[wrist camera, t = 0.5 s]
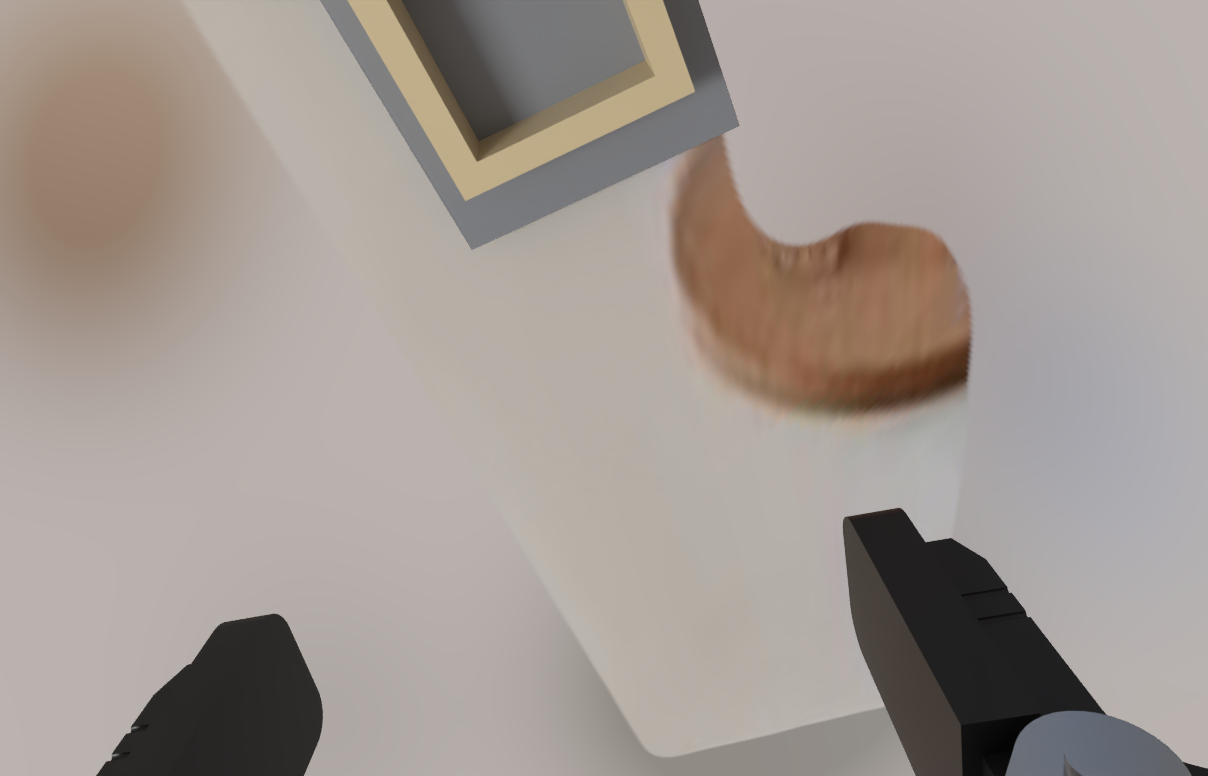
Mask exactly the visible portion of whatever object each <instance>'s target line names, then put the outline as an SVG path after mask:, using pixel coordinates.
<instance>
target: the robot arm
mask: <svg viewBox="0 0 1208 776" xmlns="http://www.w3.org/2000/svg"><path fill="white" fill-rule="evenodd" d="M843 535H844V546H845V556H846V566H847V576H848V586H849V596H850V606H851V613H852V619H853V624H854V628H855V632H856V636H857V639H858V643H859V646H860V649H861V651H862V654H863V656H864V659H865V661H866V663H867V666H868V668H869V670H870V672H871V675H872V677H873V679H874V682H875V684H876V686H877V688H878V691H879V693H880V695H881V698H882V700H883V702H884V704H885V707H886V709H887V711H888V713H889V716H890V718H891V720H892V722H893V725H894V727H895V729H896V732H897V734H898V736H899V738H900V741H901V743H902V745H903V747H904V749H905V752H906V754H907V757H908V759H909V761H910V763H911V766H912V768H913V770H914V773H915V775H916V776H1208V769H1207V768H1203V767H1199V766H1195V765H1191V764H1187V763H1184V762H1182V761H1181V759H1180V758H1179V757H1178V756H1177V755H1176V754H1175V753H1174V752H1173V751H1172V750H1171V749H1170V748H1169V747H1168V746H1167V745H1165V744H1164V743H1163V742H1161V741H1160V740H1159V739H1157V738H1156V737H1155V736H1153V735H1151V734H1150V733H1148V732H1146V731H1145V730H1143V729H1141V728H1139V727H1137V726H1135V725H1133V724H1130V723H1129V722H1126V721H1123V720H1121V719H1117V718H1115V717H1112V716H1108V715H1106V714H1105V712H1104V711H1103V710H1102V709H1101V708H1100V707H1099V705H1098V704H1097V703H1096V701H1095V700H1094V699H1093V697H1092V696H1091V695H1090V693H1089V692H1088V691H1087V690H1086V688H1085V687H1084V686H1083V685H1082V683H1081V682H1080V681H1079V679H1078V678H1077V677H1076V675H1075V674H1074V673H1073V671H1072V670H1071V669H1070V668H1069V666H1068V665H1067V664H1066V662H1065V661H1064V660H1063V659H1062V657H1061V656H1060V655H1059V653H1058V652H1057V651H1056V650H1055V648H1054V647H1053V646H1052V644H1051V643H1050V642H1049V640H1048V639H1047V638H1046V637H1045V635H1044V634H1043V633H1042V632H1041V630H1040V629H1039V628H1038V626H1037V625H1036V624H1035V622H1034V621H1033V620H1032V618H1031V617H1027V615H1026V611H1025V609H1024V608H1023V607H1022V606H1021V604H1020V603H1019V602H1018V600H1017V599H1016V598H1015V596H1014V595H1013V594H1012V593H1009V592H1008V589H1007V586H1006V585H1005V584H1004V582H1003V581H1002V580H1001V579H1000V577H999V576H998V575H997V573H996V572H995V571H994V569H993V568H992V567H991V565H990V564H989V563H988V562H987V560H986V559H985V558H983V557H981V556H980V555H978V554H976V553H975V552H973V551H971V550H970V549H968V548H966V547H965V546H963V545H961V544H960V543H958V542H957V541H955V540H953V539H952V538H949V539H943V540H937V541H931V542H925V541H924V540H923V538H922V537H921V535H920V534H919V532H918V531H917V529H916V528H915V526H914V525H913V523H912V522H911V520H910V519H909V517H908V516H907V514H906V513H905V512H904V510H902V509H901V508H895V509H890V510H884V511H878V512H872V513H866V514H861V515H855V516H849V517H845V518H844V520H843ZM322 720H323V710H322V702H321V698H320V694H319V692H318V689H317V687H316V685H315V683H314V680H313V678H312V676H311V674H310V672H309V669H308V667H307V665H306V663H305V661H304V659H303V656H302V654H301V652H300V650H299V647H298V645H297V643H296V641H295V639H294V636H293V634H292V632H291V630H290V628H289V626H288V624H287V622H286V621H285V620H284V618H283V617H281V616H280V615H278V614H270V615H264V616H258V617H252V618H246V619H240V620H235V621H229V622H224V623H222V624H220V625H219V626H218V627H217V628H216V629H215V630H214V631H213V633H212V634H211V636H210V637H209V639H208V640H207V642H206V643H205V645H204V646H203V648H202V649H201V651H200V652H199V653H198V655H197V656H196V658H195V659H194V661H193V662H192V664H189V665H187V666H186V667H184V668H183V669H182V670H181V671H180V672H179V673H178V674H177V675H176V676H174V677H173V678H172V679H171V680H170V681H169V682H168V683H167V684H166V685H164V686H163V687H162V688H161V689H160V690H159V691H158V692H157V693H155V695H153V697H152V698H151V700H150V701H149V702H148V704H147V705H146V707H145V708H144V710H143V711H142V712H141V714H140V715H139V717H138V718H137V719H136V721H135V722H134V724H133V725H132V726H131V733H128V734H126V735H125V736H124V738H123V739H122V740H121V742H120V743H119V745H118V746H117V747H116V749H115V750H114V752H113V753H112V760H111V761H107V762H106V763H105V764H104V766H103V767H102V769H101V770H100V771H99V773H98V774H97V775H96V776H304V774H305V772H306V769H307V767H308V765H309V762H310V760H311V758H312V755H313V753H314V750H315V748H316V746H317V743H318V741H319V738H320V734H321V729H322Z"/></svg>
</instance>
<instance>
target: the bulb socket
mask: <svg viewBox="0 0 1208 776" xmlns="http://www.w3.org/2000/svg"><path fill="white" fill-rule="evenodd" d="M320 1H321V3H322V4H323V6H324V8H325V9H326V11H327V12H328V14H329V16H330V17H331V19H332V21H333V22H334V24H335V26H336V27H337V29H338V31H339V32H340V34H341V36H342V37H343V39H344V40H345V42H346V44H347V45H348V47H349V49H350V50H351V52H352V54H353V55H354V57H355V59H356V60H357V62H358V63H359V65H360V67H361V68H362V70H363V72H364V73H365V75H366V77H367V78H368V80H369V82H370V83H371V85H372V87H373V88H374V90H375V91H376V93H377V95H378V96H379V98H380V100H381V101H382V103H383V105H384V106H385V108H386V110H387V111H388V113H389V114H390V116H391V118H392V119H393V121H394V123H395V124H396V126H397V128H398V129H399V131H400V133H401V134H402V136H403V137H404V139H405V141H406V142H407V144H408V146H409V147H410V149H411V151H412V152H413V154H414V156H415V157H416V159H417V161H418V162H419V164H420V165H421V167H422V169H423V170H424V172H425V174H426V175H427V177H428V179H429V180H430V182H431V184H432V185H433V187H434V188H435V190H436V192H437V193H438V195H439V197H440V198H441V200H442V202H443V203H444V205H445V207H446V208H447V210H448V212H449V213H450V215H451V216H452V218H453V220H454V221H455V223H456V225H457V226H458V228H459V230H460V231H461V233H462V235H463V236H464V238H465V239H466V241H467V243H468V244H469V246H470V248H471V249H472V250H473V249H475V248H477V247H479V246H481V245H484V244H486V243H488V242H490V241H492V240H494V239H497V238H499V237H501V236H503V235H505V234H507V233H509V232H512V231H514V230H516V229H518V228H520V227H522V226H525V225H527V224H529V223H531V222H533V221H535V220H538V219H540V218H542V217H544V216H546V215H548V214H550V213H553V212H555V211H557V210H559V209H561V208H563V207H566V206H568V205H570V204H572V203H574V202H576V201H578V200H581V199H583V198H585V197H587V196H589V195H591V194H594V193H596V192H598V191H600V190H602V189H604V188H606V187H609V186H611V185H613V184H615V183H617V182H619V181H622V180H624V179H626V178H628V177H630V176H632V175H635V174H637V173H639V172H641V171H643V170H645V169H647V168H650V167H652V166H654V165H656V164H658V163H660V162H663V161H665V160H667V159H669V158H671V157H673V156H675V155H678V154H680V153H682V152H684V151H686V150H688V149H691V148H693V147H695V146H697V145H699V144H701V143H704V142H706V141H708V140H710V139H712V138H714V137H716V136H719V135H721V134H723V133H725V132H727V131H729V130H732V129H734V128H736V127H738V126H739V123H738V120H737V117H736V114H735V111H734V108H733V105H732V101H731V98H730V96H729V92H728V89H727V87H726V83H725V80H724V77H723V74H722V71H721V68H720V66H719V62H718V59H717V56H716V53H715V50H714V47H713V44H712V41H711V38H710V35H709V32H708V28H707V26H706V23H705V19H704V16H703V13H702V11H701V7H700V5H699V1H698V0H320Z"/></svg>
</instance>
